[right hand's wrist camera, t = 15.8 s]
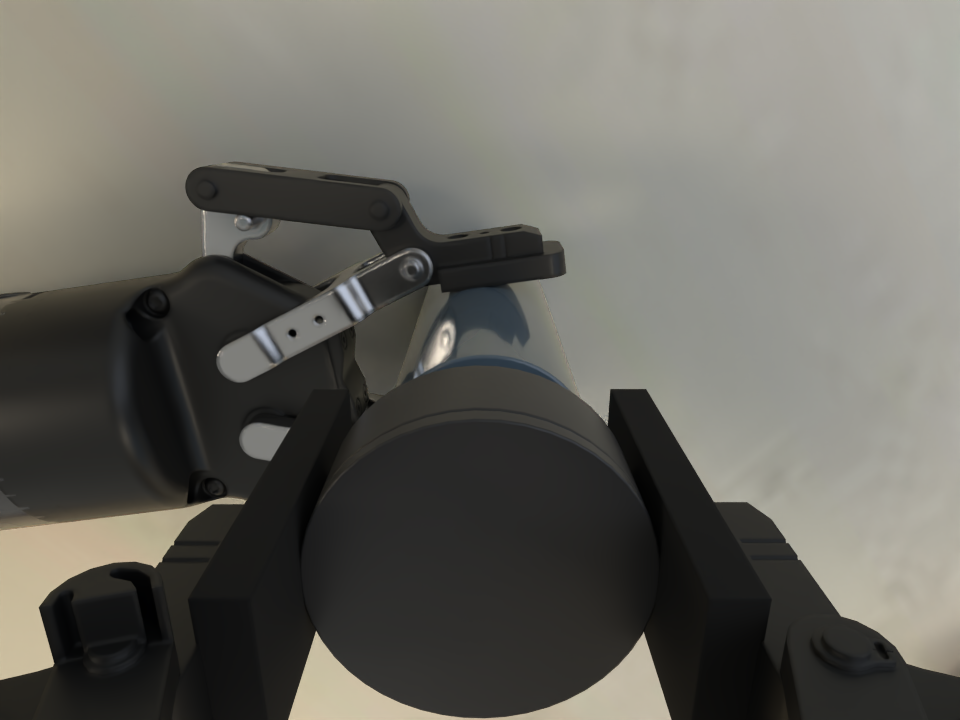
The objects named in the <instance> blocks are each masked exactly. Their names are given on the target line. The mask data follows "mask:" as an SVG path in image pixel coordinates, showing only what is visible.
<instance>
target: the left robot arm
mask: <svg viewBox="0 0 960 720" xmlns="http://www.w3.org/2000/svg"><path fill="white" fill-rule="evenodd" d="M186 193H187V196H188V198H189V200H190V201H191V202H192V203H193V204H194V205H195V206H196V207H197V208H199V209H201V225H202V257H200V258H198V259H195V260H194V261H192V262H191V263H190V264H189V265H187V266H186V267H185V268H184V269H183V270H182V271H180V272H177V273H172V274H166V275H159V276H152V277H145V278H138V279H131V280H124V281H117V282H110V283H103V284H95V285H88V286H81V287H74V288H67V289H61V290H53V291H46V292H39V293H32V294H31V293H30V292H18V293H7V294H0V530H7V529H15V528H23V527H31V526H40V525H48V524H56V523H64V522H73V521H81V520H89V519H97V518H105V517H113V516H122V515H130V514H138V513H146V512H154V511H162V510H171V509H179V508H185V507H190V506H194V505H198V504H201V503H205V502H208V501H212V500H216V499H220V498H225V497H232V498H239V499H244V500H247V499H248V498H249V496H250V494H251V493H252V491H253V489H254V488H255V486H256V484H257V483H258V481H259V479H260V478H261V476H262V474H263V473H264V471H265V469H266V468H267V466H268V464H269V463H270V461H271V459H272V458H273V456H274V454H275V453H276V451H277V449H278V448H279V446H280V444H281V443H282V441H283V439H284V438H285V436H286V434H287V433H288V431H289V429H290V428H291V426H292V424H293V423H294V421H295V419H296V418H297V416H298V414H299V413H300V411H301V409H302V408H303V406H304V404H305V403H306V401H307V399H308V398H309V396H310V394H311V393H312V391H313V389H349V395H350V409H351V422H352V426H353V425H354V424H355V422H356V421H357V420H358V419H359V418H360V417H361V415H362V414H363V413H364V412H365V411H366V410H367V409H368V408H369V407H371V406H372V405H373V404H374V403H375V402H376V401H377V400H378V399H380V398H381V397H383V395H377V394H372V393H368V391H367V386H366V381H365V378H364V376H363V374H362V372H361V370H360V368H359V367H358V365H357V363H356V361H355V358H354V353H355V337H356V335H355V330H354V325H355V324H357V323H359V322H361V321H362V320H364V319H365V318H366V317H368V316H369V315H370V314H372V313H373V312H375V311H377V310H379V309H381V308H383V307H384V306H386V305H388V304H390V303H392V302H394V301H396V300H398V299H400V298H402V297H404V296H406V295H408V294H410V293H412V292H414V291H416V290H418V289H420V288H422V287H424V286H430V285H437V284H440V286H441V292H442V293H445V292H453V291H460V290H467V289H471V288H480V287H489V286H496V285H503V284H511V283H518V282H525V281H532V280H539V279H547V278H554V277H558V276H562V275H564V274H565V273H566V266H565V256H564V249H563V247H562V245H561V244H560V242H558V241H543V242H542V235H541V233H540V231H539V229H538V228H535V227H531V226H527V225H523V224H518V225H511V226H504V227H497V228H491V229H483V230H476V231H469V232H462V233H455V234H448V235H439V234H435V233H432V232H431V231H429V230H427V229H426V228H425V227H424V226H423V225H422V223H421V222H420V220H419V218H418V216H417V215H416V213H415V211H414V209H413V207H412V206H411V204H410V198H409V194H408V192H407V190H406V188H405V187H404V186H403V185H402V184H400V183H399V182H396V181H392V180H384V179H376V178H368V177H359V176H351V175H343V174H334V173H326V172H318V171H309V170H301V169H293V168H284V167H276V166H267V165H259V164H251V163H242V162H229V163H221V164H215V165H209V166H205V167H200V168H197V169H195V170H193V171H192V172H191V173H190V174H189V175H188V177H187V180H186ZM281 220H285V221H294V222H303V223H311V224H320V225H328V226H337V227H345V228H354V229H362V230H370V231H371V233H372V235H373V236H374V238H375V240H376V241H377V243H378V245H379V246H380V248H381V250H382V252H380V253H378V254H377V255H375V256H373V257H371V258H369V259H367V260H364V261H361V262H358V263H356V264H354V265H352V266H350V267H349V268H347V269H345V270H343V271H341V272H339V273H337V274H335V275H333V276H331V277H330V278H328V279H326V280H324V281H322V282H320V283H318V284H316V285H314V286H312V287H311V286H309V285H307V284H305V283H303V282H301V281H299V280H297V279H295V278H293V277H291V276H289V275H287V274H285V273H283V272H281V271H279V270H277V269H275V268H273V267H271V266H269V265H267V264H265V263H263V262H261V261H259V260H257V259H255V258H253V257H251V256H249V255H247V254H245V253H243V249H244V245H245V243H246V242H247V241H248V240H255V239H260V238H262V237H264V236H266V235H268V234H270V233H272V232H273V231H275V230H276V229H277V227H278V226H279V224H280V221H281Z"/></svg>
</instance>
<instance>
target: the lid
mask: <svg viewBox="0 0 960 720" xmlns="http://www.w3.org/2000/svg"><path fill="white" fill-rule="evenodd" d="M659 568H660V553H659V547H658V540H657V536H656V533H655V530H654V527H653V524H652V521H651V518H650V516H649V513H648V511H647V509H646V507H645V504H644V502H643V499H642V497H641V494H640V492H639V490H638V487H637V485H636V482H635V480H634V478H633V475H632V473H631V471H630V468H629V466H628V463H627V461H626V459H625V456H624V454H623V452H622V450H621V448H620V446H619V444H618V442H617V440H616V438H615V436H614V434H613V433H612V432H611V430H610V429H609V427H608V426H607V425H606V423H605V422H604V420H603V419H602V418H601V417H600V416H599V415H598V414H597V413H596V412H595V411H594V410H593V409H592V408H591V407H590V406H589V405H588V404H587V403H585V402H584V401H583V400H582V399H580V398H579V397H578V396H577V395H575V394H574V393H572V392H570V391H569V390H567V389H565V388H564V387H562V386H560V385H559V384H557V383H555V382H552V381H550V380H548V379H545V378H543V377H541V376H538V375H535V374H532V373H528V372H525V371H521V370H518V369H511V368H505V367H499V366H477V365H475V366H464V367H453V368H449V369H444V370H439V371H435V372H431V373H429V374H426V375H423V376H420V377H417V378H414V379H412V380H410V381H408V382H406V383H404V384H402V385H400V386H398V387H396V388H394V389H393V390H391V391H390V392H389V393H387V394H386V395H384V396H383V397H381V398H380V399H378V400H377V401H376V402H375V403H374V404H373V405H372V406H371V407H369V408H368V409H367V410H366V411H365V412H364V413H363V414H362V415H361V417H360V418H359V419H358V420H357V421H356V422H355V424H354V425H353V426H352V427H351V429H350V431H349V432H348V434H347V435H346V437H345V439H344V440H343V442H342V444H341V446H340V449H339V451H338V453H337V456H336V458H335V460H334V463H333V465H332V467H331V470H330V472H329V474H328V477H327V479H326V482H325V484H324V486H323V489H322V491H321V494H320V496H319V498H318V501H317V503H316V505H315V508H314V510H313V513H312V515H311V517H310V520H309V522H308V524H307V527H306V531H305V535H304V539H303V542H302V546H301V557H300V571H301V581H302V590H303V597H304V601H305V606H306V608H307V611H308V613H309V616H310V619H311V621H312V624H313V626H314V627H315V629H316V631H317V633H318V634H319V636H320V638H321V640H322V641H323V643H324V644H325V645H326V646H327V648H328V649H329V650H330V652H331V653H332V654H333V656H334V657H335V658H336V659H337V660H338V661H339V662H340V663H341V664H342V665H343V666H344V667H345V668H346V669H347V670H348V671H349V672H351V673H352V674H353V675H354V676H356V677H357V678H358V679H359V680H361V681H362V682H363V683H365V684H366V685H368V686H370V687H371V688H373V689H374V690H376V691H378V692H379V693H381V694H383V695H385V696H387V697H389V698H391V699H393V700H396V701H398V702H400V703H402V704H405V705H408V706H411V707H414V708H417V709H420V710H423V711H428V712H432V713H436V714H441V715H447V716H455V717H463V718H494V717H507V716H513V715H519V714H525V713H529V712H533V711H536V710H540V709H544V708H547V707H550V706H552V705H555V704H558V703H560V702H563V701H565V700H568V699H570V698H571V697H573V696H575V695H577V694H579V693H581V692H583V691H585V690H586V689H588V688H589V687H591V686H592V685H594V684H595V683H597V682H598V681H600V680H601V679H603V678H604V677H605V676H606V675H607V674H608V673H610V672H611V671H612V670H613V669H614V668H615V667H617V666H618V665H619V664H620V662H621V661H622V660H623V659H624V658H625V657H626V656H627V655H628V654H629V652H630V651H631V650H632V649H633V647H634V646H635V644H636V643H637V641H638V640H639V638H640V637H641V635H642V634H643V632H644V630H645V628H646V626H647V624H648V622H649V620H650V618H651V615H652V612H653V609H654V606H655V603H656V596H657V587H658V578H659Z"/></svg>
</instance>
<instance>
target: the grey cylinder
mask: <svg viewBox="0 0 960 720" xmlns="http://www.w3.org/2000/svg"><path fill="white" fill-rule="evenodd" d="M475 365H477V366H499V367H505V368H511V369H518V370H521V371H525V372H528V373H532V374H535V375H538V376H541V377H543V378H545V379H548V380H550V381H552V382H555V383H557V384H559V385H560V386H562V387H564V388H565V389H567V390H569V391H570V392H572V393H574V394H575V395H577V396H578V397H579V398H580V396H579V393H578V390H577V387H576V384H575V381H574V378H573V376H572V373H571V370H570V367H569V364H568V361H567V358H566V355H565V353H564V350H563V347H562V344H561V341H560V338H559V335H558V332H557V330H556V327H555V324H554V321H553V318H552V315H551V312H550V310H549V307H548V304H547V301H546V298H545V295H544V292H543V289H542V287H541V284H540V281H539V280H532V281H525V282H518V283H511V284H503V285H496V286H489V287H480V288H471V289H467V290H460V291H453V292H445V293H442V292H441V286H440V284H437V285H430V286H429V287H428V290H427V293H426V296H425V299H424V302H423V305H422V308H421V311H420V314H419V317H418V320H417V323H416V326H415V329H414V332H413V335H412V338H411V341H410V344H409V347H408V350H407V353H406V356H405V359H404V362H403V365H402V369H401V372H400V375H399V378H398V381H397V384H396V387H398V386H400V385H402V384H404V383H406V382H408V381H410V380H412V379H414V378H417V377H420V376H423V375H426V374H429V373H431V372H435V371H439V370H444V369H449V368H453V367H464V366H475ZM396 387H395V388H396Z"/></svg>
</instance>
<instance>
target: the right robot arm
mask: <svg viewBox="0 0 960 720" xmlns="http://www.w3.org/2000/svg"><path fill="white" fill-rule="evenodd" d="M351 427H352V422H351V409H350V395H349V389H313V391H312V393H311V394H310V396H309V398H308V399H307V401H306V403H305V404H304V406H303V408H302V409H301V411H300V413H299V414H298V416H297V418H296V419H295V421H294V423H293V424H292V426H291V428H290V429H289V431H288V433H287V434H286V436H285V438H284V439H283V441H282V443H281V444H280V446H279V448H278V449H277V451H276V453H275V454H274V456H273V458H272V459H271V461H270V463H269V464H268V466H267V468H266V469H265V471H264V473H263V474H262V476H261V478H260V479H259V481H258V483H257V484H256V486H255V488H254V489H253V491H252V493H251V494H250V496H249V498H248V499H247V501H246V503H245V504H213V505H211V506H210V507H208V508H207V509H206V510H204V511H203V512H201V513H200V514H199V515H197V516H196V517H194V518H193V519H192V520H190V521H189V522H188V523H187V524H186V526H185V527H184V529H183V530H182V531H181V533H180V534H179V536H178V537H177V539H176V540H175V541H174V546H171V547H170V548H169V550H168V551H167V553H166V554H165V555H164V557H163V560H162V562H159V564H158V565H157V567H156V568H154V567H153V566H151V565H147V564H142V563H138V562H122V563H112V564H108V565H104V566H100V567H96V568H92V569H90V570H87V571H85V572H83V573H81V574H79V575H77V576H74V577H72V578H70V579H68V580H67V581H65V582H64V583H63V584H61V585H60V586H59V587H57V588H56V589H54V590H53V591H52V592H50V594H49V595H48V596H47V597H46V599H45V600H44V601H43V603H42V604H41V605H40V607H39V610H40V613H41V617H42V621H43V624H44V628H45V631H46V635H47V638H48V642H49V645H50V649H51V653H52V656H53V660H54V666H53V667H51V668H48V669H44V670H41V671H38V672H34V673H29V674H25V675H21V676H16V677H12V678H8V679H3V680H0V720H288V718H289V715H290V712H291V708H292V705H293V702H294V699H295V696H296V693H297V689H298V686H299V683H300V680H301V677H302V674H303V670H304V667H305V664H306V661H307V658H308V655H309V651H310V648H311V645H312V642H313V639H314V636H315V632H316V629H315V627H314V626H313V624H312V621H311V619H310V616H309V613H308V611H307V608H306V606H305V601H304V597H303V590H302V581H301V571H300V557H301V546H302V542H303V539H304V535H305V531H306V527H307V524H308V522H309V520H310V517H311V515H312V513H313V510H314V508H315V505H316V503H317V501H318V498H319V496H320V494H321V491H322V489H323V486H324V484H325V482H326V479H327V477H328V474H329V472H330V470H331V467H332V465H333V463H334V460H335V458H336V456H337V453H338V451H339V449H340V446H341V444H342V442H343V440H344V439H345V437H346V435H347V434H348V432H349V431H350V429H351ZM608 427H609V429H610V430H611V432H612V433H613V434H614V436H615V438H616V440H617V442H618V444H619V446H620V448H621V450H622V452H623V454H624V456H625V459H626V461H627V463H628V466H629V468H630V471H631V473H632V475H633V478H634V480H635V482H636V485H637V487H638V490H639V492H640V494H641V497H642V499H643V502H644V504H645V507H646V509H647V511H648V513H649V516H650V518H651V521H652V524H653V527H654V530H655V533H656V536H657V540H658V547H659V553H660V568H659V578H658V587H657V596H656V603H655V606H654V609H653V612H652V615H651V618H650V620H649V622H648V624H647V626H646V628H645V630H644V634H645V637H646V640H647V643H648V646H649V650H650V653H651V656H652V659H653V662H654V665H655V669H656V672H657V675H658V678H659V681H660V684H661V688H662V691H663V694H664V697H665V700H666V703H667V707H668V710H669V713H670V716H671V719H672V720H960V677H956V676H952V675H947V674H943V673H939V672H934V671H930V670H926V669H922V668H918V667H915V666H912V665H908V664H906V662H905V661H904V659H903V658H902V656H901V655H900V653H899V652H898V650H897V649H896V647H895V646H894V645H893V644H891V643H890V642H889V641H888V640H887V639H885V638H884V637H883V636H882V635H881V634H879V633H878V632H876V631H875V630H873V629H871V628H869V627H867V626H865V625H863V624H861V623H859V622H857V621H854V620H851V619H848V618H844V617H841V616H840V615H839V613H838V612H837V610H836V609H835V608H834V606H833V605H832V603H831V602H830V601H829V599H828V598H827V596H826V595H825V594H824V592H823V591H822V589H821V588H820V587H819V585H818V584H817V582H816V581H815V580H814V578H813V577H812V575H811V574H810V573H809V571H808V570H807V569H806V567H805V566H804V564H803V563H802V562H801V560H798V558H797V555H796V553H795V552H794V550H793V549H792V548H791V546H790V545H789V543H786V539H785V538H784V536H783V535H782V534H781V532H780V531H779V529H778V528H777V527H776V525H775V524H774V522H773V521H772V520H771V519H770V518H769V517H767V516H766V515H764V514H763V513H762V512H760V511H759V510H757V509H756V508H754V507H753V506H752V505H750V504H749V503H747V502H713V500H712V498H711V497H710V495H709V493H708V492H707V490H706V488H705V487H704V485H703V483H702V482H701V480H700V478H699V477H698V475H697V473H696V472H695V470H694V468H693V467H692V465H691V463H690V462H689V460H688V458H687V457H686V455H685V453H684V452H683V450H682V448H681V447H680V445H679V443H678V442H677V440H676V438H675V437H674V435H673V433H672V432H671V430H670V428H669V427H668V425H667V423H666V422H665V420H664V418H663V417H662V415H661V413H660V412H659V410H658V408H657V407H656V405H655V403H654V402H653V400H652V398H651V397H650V395H649V393H648V392H647V390H646V389H610V403H609V417H608Z"/></svg>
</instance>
